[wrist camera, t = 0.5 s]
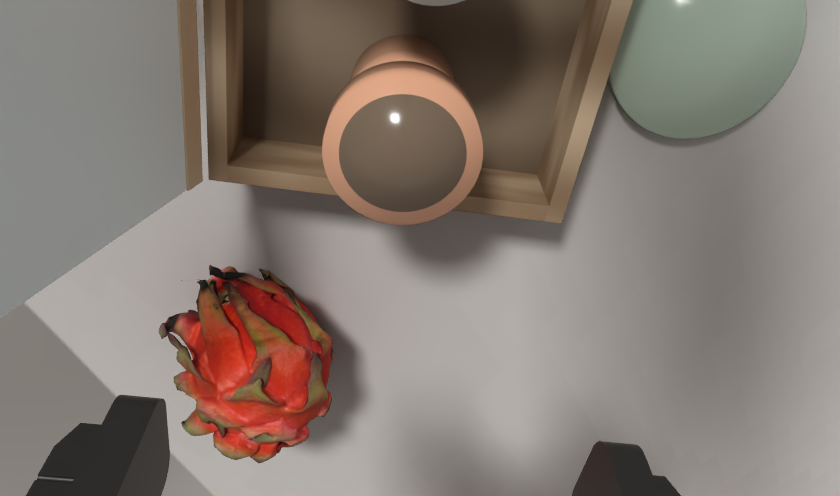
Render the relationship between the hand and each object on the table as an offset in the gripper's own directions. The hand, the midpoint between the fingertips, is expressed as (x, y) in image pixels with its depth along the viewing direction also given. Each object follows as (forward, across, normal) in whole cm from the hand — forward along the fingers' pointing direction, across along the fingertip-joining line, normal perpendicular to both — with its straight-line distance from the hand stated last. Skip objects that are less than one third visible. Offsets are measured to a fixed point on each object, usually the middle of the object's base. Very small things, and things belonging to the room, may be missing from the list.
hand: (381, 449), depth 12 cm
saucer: (+21, -13, -4) cm, 25 cm away
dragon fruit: (+21, +6, +15) cm, 26 cm away
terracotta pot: (+20, 0, 0) cm, 20 cm away
